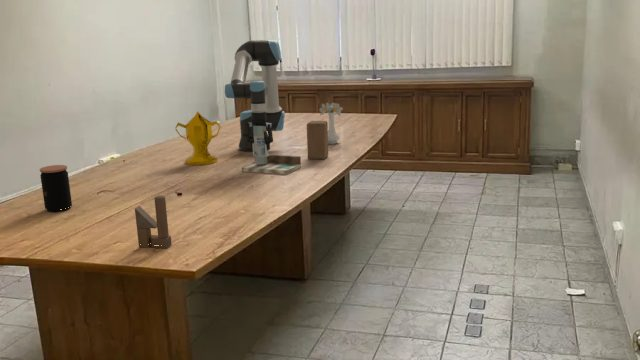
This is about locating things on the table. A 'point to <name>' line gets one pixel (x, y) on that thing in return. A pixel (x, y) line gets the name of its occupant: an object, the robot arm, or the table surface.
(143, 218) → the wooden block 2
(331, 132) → the flower vase
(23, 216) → the table surface
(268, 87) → the robot arm
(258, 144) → the spray paint can
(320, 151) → the wooden block
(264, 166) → the marking board
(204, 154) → the trophy cup
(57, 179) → the coffee jar
